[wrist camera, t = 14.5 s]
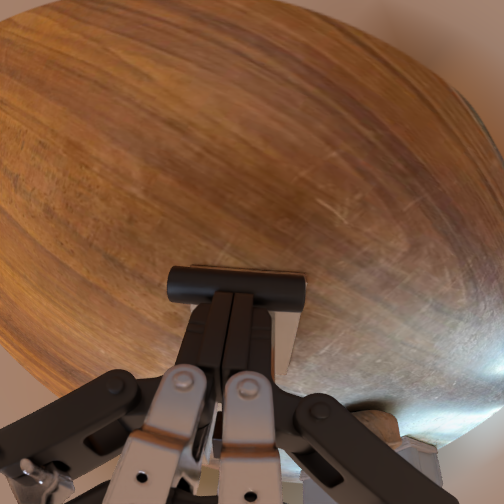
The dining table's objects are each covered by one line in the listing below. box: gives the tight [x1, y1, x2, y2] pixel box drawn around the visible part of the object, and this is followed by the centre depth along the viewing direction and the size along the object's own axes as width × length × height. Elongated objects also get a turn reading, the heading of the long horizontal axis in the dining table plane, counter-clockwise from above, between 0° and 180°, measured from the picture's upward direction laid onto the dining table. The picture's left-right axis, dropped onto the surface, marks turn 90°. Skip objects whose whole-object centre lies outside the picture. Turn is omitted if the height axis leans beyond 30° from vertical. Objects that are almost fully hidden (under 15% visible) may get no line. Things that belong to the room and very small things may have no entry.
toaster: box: [300, 436, 443, 504], centre depth 44 cm, size 30×36×18 cm
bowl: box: [351, 410, 402, 450], centre depth 31 cm, size 18×14×10 cm
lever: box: [167, 266, 306, 459], centre depth 13 cm, size 13×6×2 cm, turn 177°
